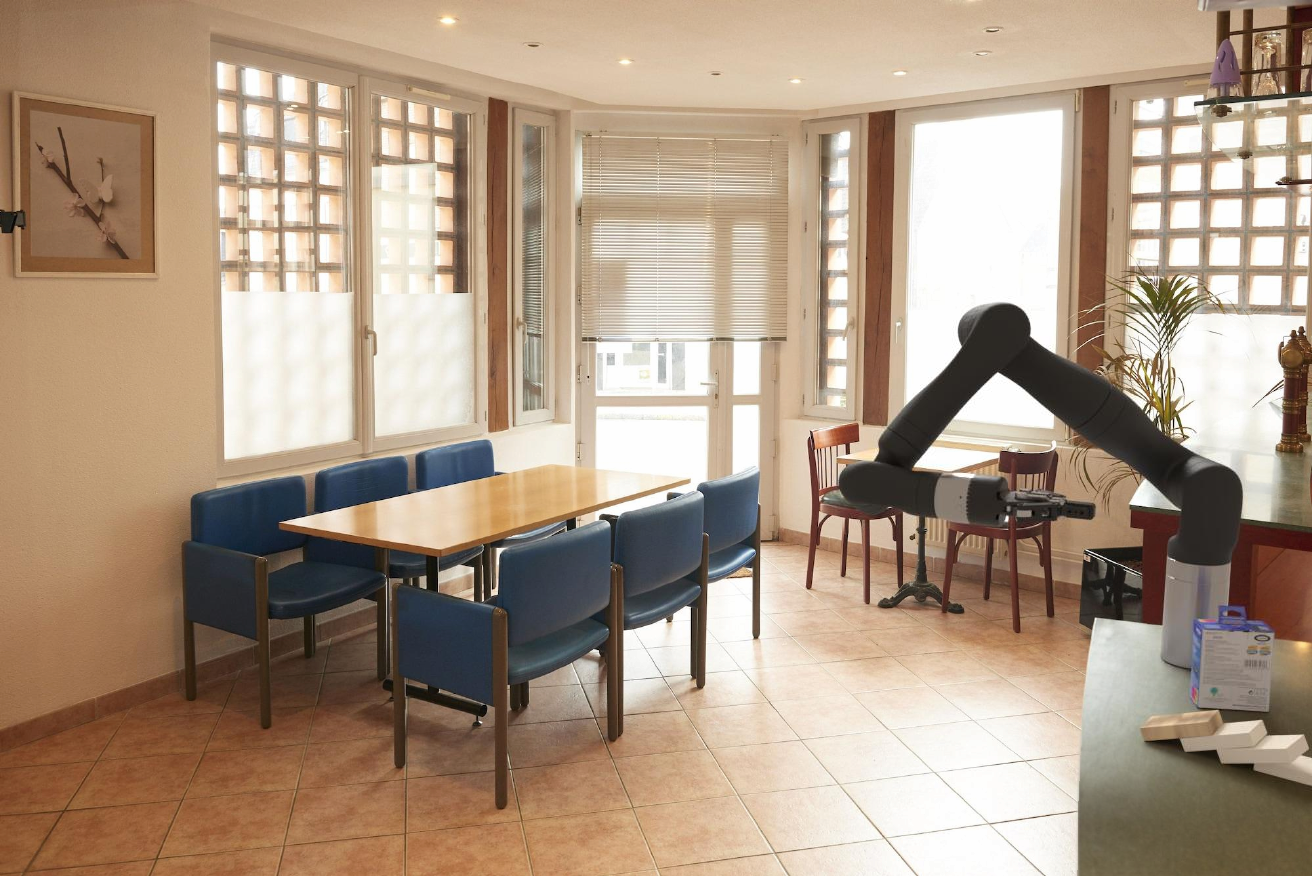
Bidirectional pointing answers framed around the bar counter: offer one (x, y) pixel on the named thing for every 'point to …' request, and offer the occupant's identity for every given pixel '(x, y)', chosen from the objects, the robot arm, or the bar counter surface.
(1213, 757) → the bar counter surface
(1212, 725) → the oak domino
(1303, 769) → the ivory domino
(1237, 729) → the ivory domino
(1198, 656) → the ink cartridge box
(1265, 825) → the bar counter surface
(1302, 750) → the ivory domino
